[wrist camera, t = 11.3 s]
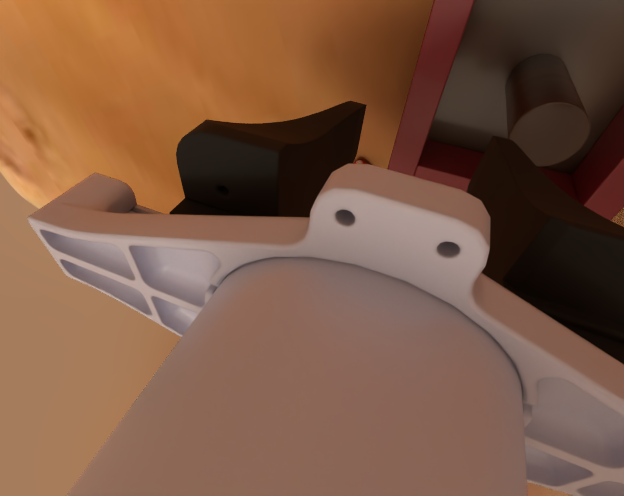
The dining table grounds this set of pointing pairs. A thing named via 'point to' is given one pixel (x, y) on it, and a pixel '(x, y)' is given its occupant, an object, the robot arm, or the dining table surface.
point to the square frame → (462, 162)
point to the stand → (535, 79)
